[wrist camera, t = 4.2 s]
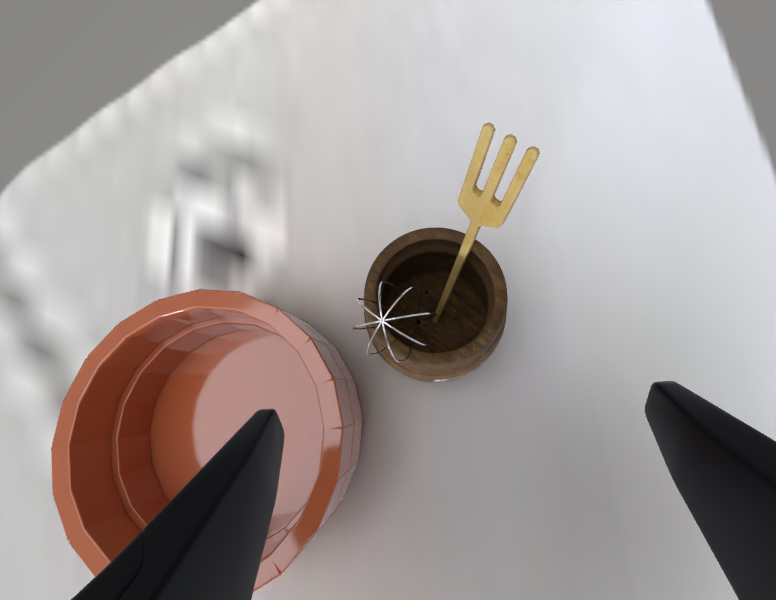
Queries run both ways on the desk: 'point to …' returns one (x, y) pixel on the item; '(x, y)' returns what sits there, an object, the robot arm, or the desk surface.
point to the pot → (201, 420)
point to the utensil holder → (445, 282)
